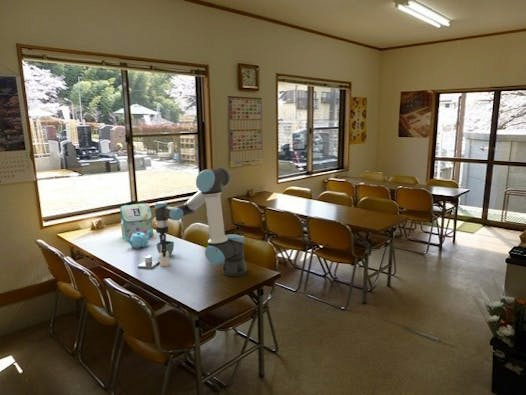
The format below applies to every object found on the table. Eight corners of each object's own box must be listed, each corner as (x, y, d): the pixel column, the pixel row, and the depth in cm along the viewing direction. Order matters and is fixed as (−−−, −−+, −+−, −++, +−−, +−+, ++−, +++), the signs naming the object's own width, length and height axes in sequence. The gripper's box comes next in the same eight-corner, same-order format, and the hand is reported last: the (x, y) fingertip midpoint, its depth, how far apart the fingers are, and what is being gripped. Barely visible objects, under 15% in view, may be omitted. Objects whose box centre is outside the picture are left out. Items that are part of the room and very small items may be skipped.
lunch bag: (124, 241, 297) (121, 207, 291) (120, 236, 310) (117, 203, 305) (154, 237, 308) (152, 204, 302) (149, 232, 322) (147, 200, 316)
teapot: (135, 243, 293) (133, 228, 291) (152, 243, 291) (151, 229, 289) (125, 250, 278) (124, 235, 276) (143, 250, 276) (142, 235, 274)
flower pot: (164, 252, 272) (163, 240, 270) (175, 253, 269) (174, 241, 267) (156, 256, 264) (156, 244, 262) (167, 258, 261) (167, 245, 259)
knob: (169, 262, 254) (168, 250, 252) (169, 265, 248) (169, 253, 246) (159, 263, 252) (158, 251, 250) (160, 266, 246) (159, 254, 245)
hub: (159, 263, 252) (159, 254, 250) (152, 269, 242) (151, 260, 241) (145, 262, 254) (145, 253, 253) (137, 267, 244) (137, 258, 243)
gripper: (155, 221, 255) (157, 251, 260) (156, 232, 232) (158, 265, 236) (166, 220, 257) (168, 250, 262) (169, 231, 234) (171, 263, 239)
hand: (163, 257), depth 249 cm, fingers open, 13 cm apart
